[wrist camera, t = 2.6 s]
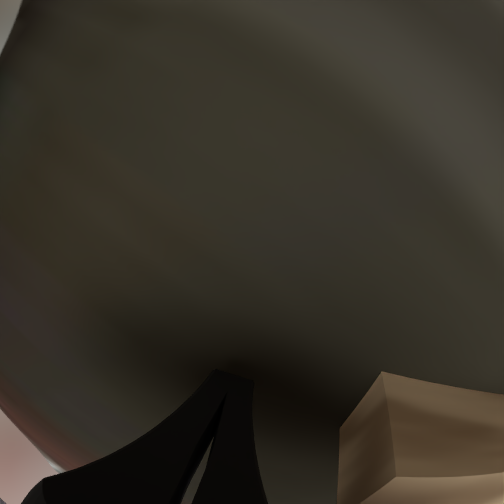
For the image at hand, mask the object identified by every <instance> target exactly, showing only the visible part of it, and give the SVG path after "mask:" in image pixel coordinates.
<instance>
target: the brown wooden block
mask: <svg viewBox="0 0 504 504" xmlns="http://www.w3.org/2000/svg"><path fill="white" fill-rule="evenodd" d="M337 504H504V395H502V394H495V393H488V392H482V391H476V390H470V389H464V388H458V387H452V386H447V385H442V384H437V383H432V382H427V381H422V380H417V379H412V378H408V377H403V376H399V375H395V374H390V373H386V372H381V373H380V375H379V376H378V377H377V379H376V380H375V382H374V383H373V385H372V386H371V388H370V389H369V390H368V392H367V393H366V395H365V396H364V397H363V399H362V400H361V401H360V403H359V404H358V405H357V407H356V408H355V409H354V411H353V412H352V413H351V414H350V416H349V417H348V418H347V420H346V421H345V422H344V423H343V425H342V426H341V427H340V437H339V471H338V490H337Z"/></svg>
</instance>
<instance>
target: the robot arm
mask: <svg viewBox="0 0 504 504" xmlns="http://www.w3.org/2000/svg"><path fill="white" fill-rule="evenodd" d="M253 388H254V383H253V381H252V380H249V379H246V378H243V377H239V376H236V375H233V374H230V373H227V372H224V371H221V370H218V369H215V370H212V372H211V373H210V375H209V376H208V377H207V379H206V380H205V381H204V382H203V384H202V385H201V386H200V387H199V388H198V389H197V390H196V391H195V392H194V393H193V395H192V396H190V397H189V398H188V399H187V400H186V401H185V402H184V403H183V404H182V405H181V406H180V407H179V408H178V409H177V410H176V411H174V412H173V413H172V414H171V415H170V416H168V417H167V418H166V419H165V420H163V421H162V422H161V423H160V424H158V425H157V426H156V427H154V428H153V429H152V430H150V431H149V432H147V433H146V434H144V435H143V436H141V437H140V438H138V439H137V440H135V441H133V442H132V443H130V444H128V445H126V446H125V447H123V448H121V449H119V450H117V451H116V452H114V453H112V454H110V455H108V456H106V457H103V458H101V459H99V460H96V461H94V462H92V463H89V464H87V465H84V466H82V467H79V468H76V469H73V470H70V471H67V472H64V473H60V474H57V475H53V476H50V477H46V478H43V479H42V480H41V481H40V482H39V483H38V484H37V485H35V486H34V487H33V488H32V489H31V491H30V492H29V493H28V495H27V496H26V497H25V499H24V500H23V502H22V503H21V504H181V502H182V499H183V497H184V494H185V492H186V490H187V488H188V485H189V483H190V481H191V479H192V477H193V476H194V474H195V472H196V470H197V468H198V466H199V464H200V462H201V460H202V458H203V456H204V454H205V452H206V450H207V448H208V446H209V445H210V443H211V441H212V439H213V437H214V439H213V442H212V446H211V450H210V454H209V458H208V462H207V465H206V469H205V472H204V474H203V477H202V479H201V482H200V484H199V487H198V489H197V492H196V494H195V497H194V499H193V501H192V504H268V502H267V499H266V495H265V492H264V488H263V484H262V480H261V476H260V472H259V467H258V462H257V456H256V450H255V443H254V433H253V421H252V397H253ZM0 504H6V503H5V502H4V501H3V500H2V499H1V498H0Z"/></svg>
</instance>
